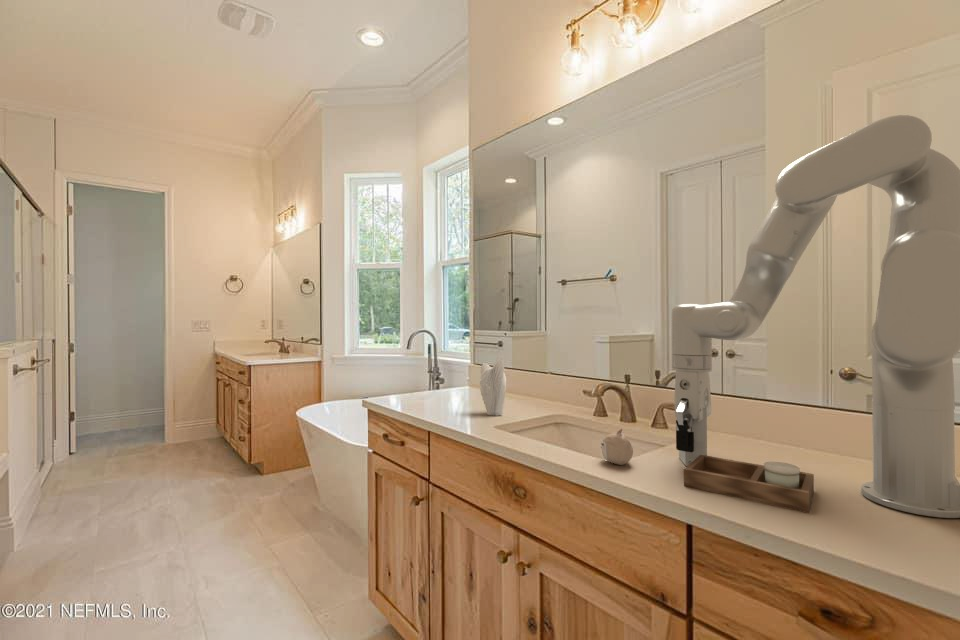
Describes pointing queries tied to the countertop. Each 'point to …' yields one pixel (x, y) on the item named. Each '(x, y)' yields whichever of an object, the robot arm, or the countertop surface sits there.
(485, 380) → the shell sculpture
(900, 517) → the countertop surface
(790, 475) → the cream jar
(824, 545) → the countertop surface
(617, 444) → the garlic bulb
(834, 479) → the countertop surface
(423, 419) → the countertop surface
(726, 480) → the walnut caddy
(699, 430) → the skincare box
